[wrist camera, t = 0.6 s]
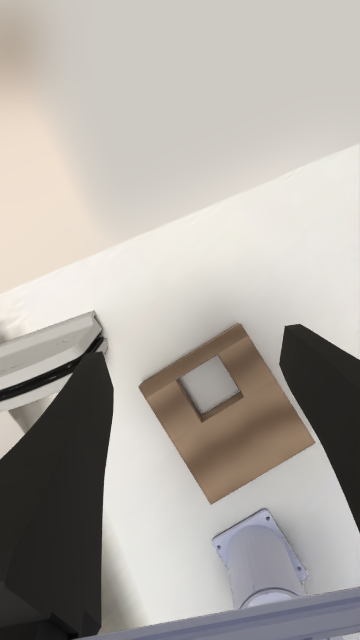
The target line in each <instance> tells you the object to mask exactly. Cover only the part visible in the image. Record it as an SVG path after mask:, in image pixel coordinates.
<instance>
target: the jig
mask: <svg viewBox="0 0 360 640" xmlns="http://www.w3.org/2000/svg"><path fill="white" fill-rule="evenodd" d="M217 354H218V356H219V357H220V359H221V361H222V362H223V364H224V365H225V367H226V369H227V370H228V372H229V373H230V375H231V377H232V378H233V380H234V381H235V383H236V385H237V386H238V388H239V389H240V391H241V392H240V393H238V394H236V395H235V396H233V397H231V398H230V399H228V400H227V401H225V402H223V403H222V404H220V405H218V406H217V407H215V408H213V409H212V410H210V411H208V412H207V413H205V414H204V415H202V416H201V415H200V413H199V412H198V410H197V408H196V407H195V405H194V404H193V402H192V400H191V399H190V397H189V396H188V394H187V392H186V391H185V389H184V388H183V386H182V384H181V383H180V381H179V380H178V378H180V377H182V376H183V375H185V374H187V373H188V372H190V371H191V370H193V369H195V368H196V367H198V366H199V365H201V364H203V363H204V362H206V361H208V360H209V359H211V358H212V357H214V356H216V355H217ZM139 389H140V391H141V392H142V394H143V395H144V397H145V399H146V400H147V402H148V404H149V405H150V407H151V408H152V410H153V412H154V413H155V415H156V417H157V418H158V420H159V421H160V423H161V425H162V426H163V428H164V429H165V431H166V433H167V434H168V436H169V438H170V439H171V441H172V442H173V444H174V446H175V447H176V449H177V451H178V452H179V454H180V455H181V457H182V459H183V460H184V462H185V463H186V465H187V467H188V468H189V470H190V472H191V473H192V475H193V476H194V478H195V480H196V481H197V483H198V484H199V486H200V488H201V489H202V491H203V493H204V494H205V496H206V497H207V499H208V501H209V502H210V504H211V505H212V504H213V503H215V502H217V501H218V500H220V499H222V498H223V497H225V496H227V495H228V494H230V493H232V492H234V491H235V490H237V489H239V488H240V487H242V486H244V485H245V484H247V483H249V482H250V481H252V480H254V479H256V478H257V477H259V476H261V475H262V474H264V473H266V472H267V471H269V470H271V469H272V468H274V467H276V466H277V465H279V464H281V463H283V462H284V461H286V460H288V459H289V458H291V457H293V456H294V455H296V454H298V453H299V452H301V451H303V450H305V449H306V448H308V447H310V446H311V445H313V444H315V441H314V439H313V438H312V436H311V435H310V433H309V431H308V430H307V428H306V427H305V425H304V424H303V422H302V420H301V419H300V417H299V416H298V414H297V412H296V411H295V409H294V408H293V406H292V404H291V403H290V401H289V400H288V398H287V397H286V395H285V393H284V392H283V390H282V389H281V387H280V385H279V384H278V382H277V381H276V379H275V377H274V376H273V374H272V373H271V371H270V370H269V368H268V366H267V365H266V363H265V362H264V360H263V358H262V357H261V355H260V354H259V352H258V350H257V349H256V347H255V346H254V344H253V343H252V341H251V339H250V338H249V336H248V335H247V333H246V331H245V330H244V328H243V327H242V325H241V324H238V323H237V324H236V325H234V326H232V327H231V328H229V329H228V330H226V331H224V332H223V333H221V334H219V335H218V336H216V337H215V338H213V339H211V340H210V341H208V342H207V343H205V344H203V345H202V346H200V347H198V348H197V349H195V350H194V351H192V352H190V353H189V354H187V355H186V356H184V357H182V358H181V359H179V360H177V361H176V362H174V363H173V364H171V365H169V366H168V367H166V368H165V369H163V370H161V371H160V372H158V373H157V374H155V375H153V376H152V377H150V378H148V379H147V380H145V381H144V382H142V383H141V384H140V386H139Z"/></svg>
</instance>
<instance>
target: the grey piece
mask: <svg viewBox="0 0 360 640" xmlns="http://www.w3.org/2000/svg"><path fill="white" fill-rule="evenodd" d="M95 315H96V313H95V311H94V310H93V311H91V312H88V313H85V314H82V315H79V316H77V317H74V318H71V319H68V320H65V321H63V322H60V323H57V324H54V325H51V326H49V327H46V328H43V329H40V330H37V331H34V332H32V333H29V334H26V335H23V336H20V337H18V338H15V339H12V340H9V341H6V342H4V343H1V344H0V412H3V411H7V410H10V409H13V408H16V407H19V406H22V405H25V404H28V403H31V402H33V401H36V400H38V399H41V398H43V397H46V396H48V395H50V394H53V393H55V392H57V391H60V390H61V389H62V388H63V386H64V385H65V384H66V382H67V381H68V379H69V378H70V376H71V375H72V373H73V372H74V371H75V369H76V368H77V366H78V364H79V363H80V361H81V360H82V358H83V357H84V356H85V354H86V353H92V352H100V351H102V352H103V355H104V353H105V351H106V350H107V348H108V343H107V338H106V339H103V337H101V338H98V337H99V336H100V334H101V333H100V331H101V330H102V328H101V327H100V325H99V324H98V323H97V321H96V320H95V318H94V316H95ZM97 338H98V339H97Z"/></svg>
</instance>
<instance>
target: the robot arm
mask: <svg viewBox="0 0 360 640" xmlns="http://www.w3.org/2000/svg"><path fill="white" fill-rule="evenodd" d="M279 365H280V367H281V370H282V372H283V375H284V377H285V380H286V382H287V384H288V387H289V388H290V390H291V392H292V394H293V395H294V397H295V399H296V401H297V402H298V404H299V406H300V407H301V409H302V411H303V413H304V414H305V416H306V418H307V419H308V421H309V423H310V424H311V426H312V428H313V430H314V431H315V433H316V435H317V436H318V438H319V440H320V442H321V444H322V446H323V448H324V450H325V452H326V454H327V457H328V459H329V461H330V463H331V465H332V467H333V470H334V472H335V474H336V477H337V479H338V481H339V483H340V486H341V488H342V490H343V493H344V495H345V497H346V500H347V502H348V505H349V507H350V510H351V512H352V515H353V517H354V520H355V522H356V525H357V527H358V530H359V533H360V360H359V359H357V358H355V357H354V356H352V355H350V354H348V353H347V352H345V351H343V350H342V349H340V348H338V347H337V346H335V345H334V344H332V343H330V342H329V341H327V340H326V339H324V338H322V337H321V336H319V335H318V334H316V333H314V332H313V331H311V330H309V329H308V328H306V327H304V326H303V325H301V324H296V325H289V326H285V329H284V336H283V342H282V349H281V356H280V363H279ZM113 393H114V388H113V385H112V381H111V378H110V375H109V372H108V368H107V365H106V362H105V359H104V355H103V352H102V351H100V352H92V353H86V354H85V356H84V357H83V358H82V360H81V361H80V363H79V364H78V366H77V368H76V369H75V371H74V372H73V373H72V375H71V376H70V378H69V379H68V381H67V382H66V384H65V385H64V386H63V388H62V389H61V391H60V392H59V393H58V395H57V396H56V398H55V399H54V400H53V402H52V403H51V404H50V405H49V407H48V408H47V409H46V410H45V412H44V413H43V414H42V415H41V417H40V418H39V419H38V420H37V421H36V423H35V424H34V425H33V426H32V427H31V428H30V430H29V431H28V432H27V433H26V434H25V435H24V436H23V437H22V438H21V439H20V441H19V442H18V443H17V444H16V445H15V446H14V447H13V448H12V449H11V450H10V451H9V452H8V453H7V454H6V455H4V456H3V458H1V459H0V640H343V638H342V635H347V634H353V633H358V632H360V587H356V588H351V589H345V590H340V591H334V592H329V593H324V594H318V595H313V596H307V594H306V591H305V589H304V586H303V584H302V581H303V580H305V579H306V578H307V576H308V575H307V572H306V570H305V569H304V567H303V566H302V564H301V562H300V561H299V559H298V558H297V556H296V554H295V553H294V551H293V550H292V548H291V546H290V545H289V543H288V542H287V540H286V538H285V537H284V535H283V534H282V532H281V530H280V529H279V527H278V526H277V524H276V522H275V521H274V519H273V517H272V516H271V514H270V513H269V511H268V510H266V509H264V510H262V511H260V512H258V513H257V514H255V515H253V516H251V517H250V518H248V519H246V520H245V521H243V522H241V523H239V524H238V525H236V526H234V527H233V528H231V529H229V530H227V531H226V532H224V533H222V534H221V535H219V536H217V537H216V538H214V539H213V541H212V543H213V546H214V548H215V549H216V551H217V553H218V554H219V556H220V558H221V559H222V561H223V562H224V564H225V566H226V567H227V569H228V571H229V575H230V583H231V590H232V597H233V604H234V610H231V611H226V612H220V613H215V614H209V615H204V616H198V617H193V618H188V619H182V620H177V621H171V622H166V623H160V624H155V625H149V626H144V627H139V628H133V629H128V630H122V631H117V632H111V633H106V634H101V635H97V633H98V632H99V630H100V628H101V555H102V515H103V491H104V476H105V467H106V460H107V453H108V446H109V439H110V432H111V425H112V417H113ZM266 517H269V518H268V519H266ZM218 545H220V547H217V546H218ZM297 567H299V568H297Z"/></svg>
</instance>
